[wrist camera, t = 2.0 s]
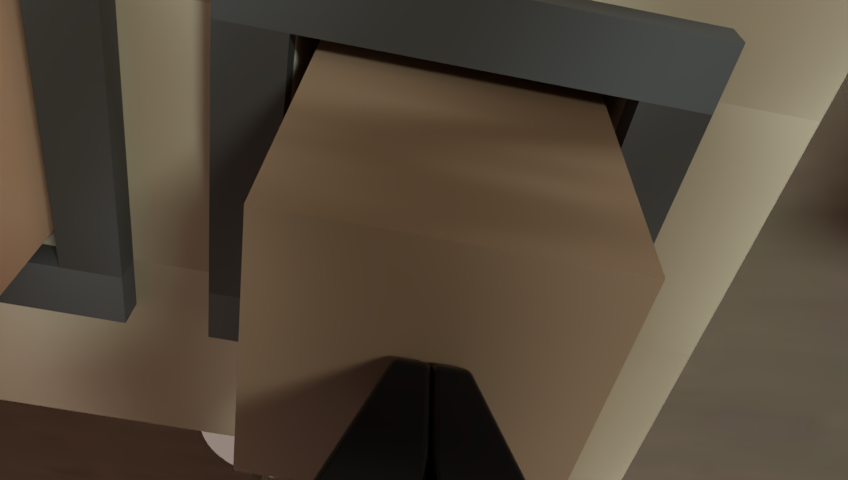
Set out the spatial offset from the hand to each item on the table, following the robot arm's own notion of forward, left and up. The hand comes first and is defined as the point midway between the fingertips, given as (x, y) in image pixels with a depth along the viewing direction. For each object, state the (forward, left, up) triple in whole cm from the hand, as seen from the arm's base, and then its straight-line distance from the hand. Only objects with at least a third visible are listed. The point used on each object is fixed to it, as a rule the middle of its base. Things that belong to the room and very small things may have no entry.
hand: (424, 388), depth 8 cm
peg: (0, 0, -6) cm, 6 cm away
